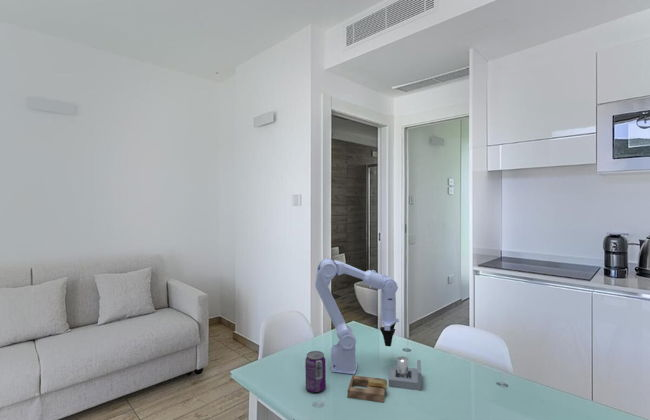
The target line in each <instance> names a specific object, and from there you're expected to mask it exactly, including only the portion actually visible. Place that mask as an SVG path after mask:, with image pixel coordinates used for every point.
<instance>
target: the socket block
mask: <svg viewBox="0 0 650 420" xmlns="http://www.w3.org/2000/svg"><path fill="white" fill-rule="evenodd" d="M351 375H352V376H351V379H350V382H349V385H348V386H347V387H348V388H347V398H349V399H356V400H362V401H363V400H364V401H369V402H378V403H384V402H385V396H386V389H387V388H383V387H377V386H369V385H368V381H369V379H374V380H382V381H383V380H387V379H386V378H378V377H372V376H362V375H355V374H351Z"/></svg>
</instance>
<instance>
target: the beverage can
mask: <svg viewBox="0 0 650 420" xmlns="http://www.w3.org/2000/svg"><path fill="white" fill-rule="evenodd" d="M304 364H305V367H304V368H305V369H304V370H305V388H306V390H307V391H309V392H312V393H318V392H321V391H325V388H326V386H327V383H326V382H327V381H326V380H327V379H326V378H327V375H326V372H327V371H326V357H325V353H324V352H322V351H319V350H312V351H310V352H308V353H306V357H305V363H304Z"/></svg>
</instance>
